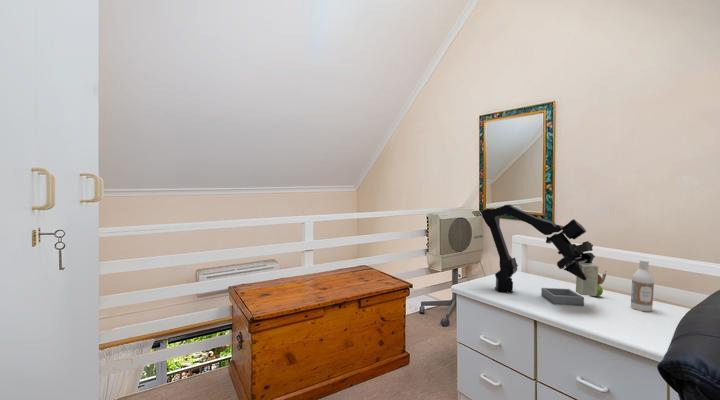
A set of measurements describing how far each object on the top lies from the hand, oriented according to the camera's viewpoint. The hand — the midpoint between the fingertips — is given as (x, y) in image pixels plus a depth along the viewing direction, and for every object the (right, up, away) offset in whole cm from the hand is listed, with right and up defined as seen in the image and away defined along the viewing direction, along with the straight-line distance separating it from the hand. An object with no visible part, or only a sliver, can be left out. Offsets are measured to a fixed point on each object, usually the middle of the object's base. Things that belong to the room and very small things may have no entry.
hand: (590, 278), depth 142 cm
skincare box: (-1, -7, +2) cm, 7 cm away
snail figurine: (+15, -12, +20) cm, 28 cm away
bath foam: (+23, -13, +4) cm, 27 cm away
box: (-4, -12, +13) cm, 18 cm away
